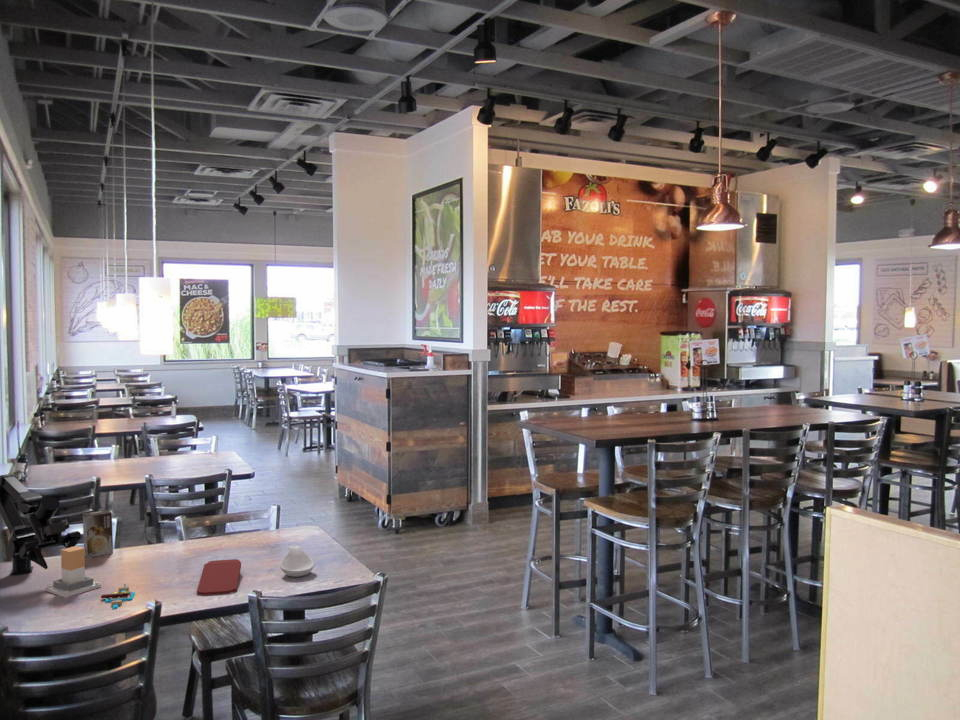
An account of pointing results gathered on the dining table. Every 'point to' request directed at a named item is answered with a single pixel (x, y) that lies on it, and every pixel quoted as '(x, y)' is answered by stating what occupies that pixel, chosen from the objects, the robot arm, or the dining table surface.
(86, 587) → the socket plate
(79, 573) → the orange and white block
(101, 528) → the coffee box
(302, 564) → the spoon rest
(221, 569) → the red rounded slab
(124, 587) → the turquoise and red toy
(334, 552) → the dining table surface
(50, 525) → the robot arm
